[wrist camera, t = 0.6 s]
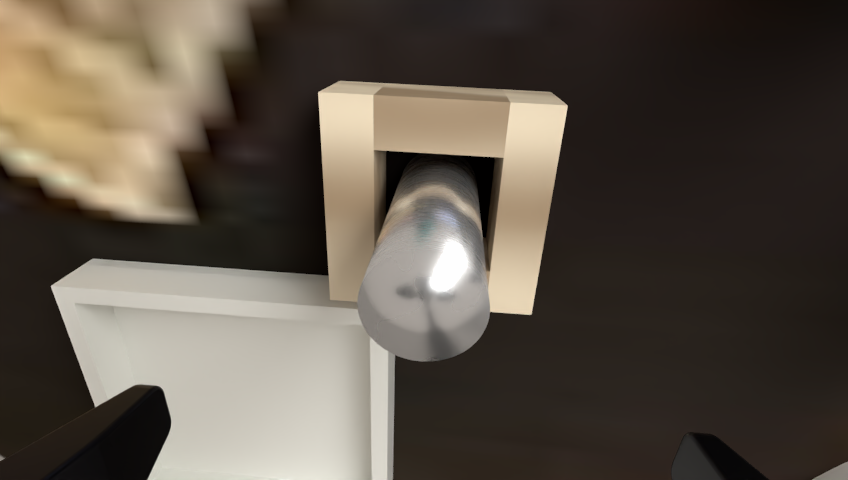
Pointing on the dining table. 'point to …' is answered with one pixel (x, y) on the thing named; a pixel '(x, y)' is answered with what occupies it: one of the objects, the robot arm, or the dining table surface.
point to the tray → (237, 368)
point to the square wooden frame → (440, 134)
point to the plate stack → (835, 473)
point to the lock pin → (428, 264)
